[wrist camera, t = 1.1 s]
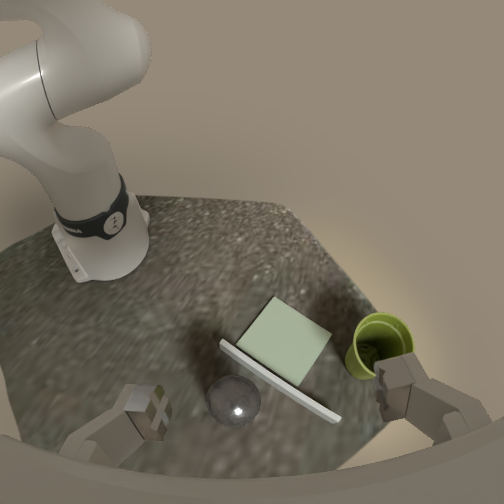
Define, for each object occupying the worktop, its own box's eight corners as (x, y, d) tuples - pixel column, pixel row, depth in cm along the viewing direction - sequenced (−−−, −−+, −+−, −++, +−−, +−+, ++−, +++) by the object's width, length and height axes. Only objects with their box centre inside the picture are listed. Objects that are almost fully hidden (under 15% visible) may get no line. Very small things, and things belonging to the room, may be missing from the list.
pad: (235, 345, 45) (235, 344, 45) (273, 297, 50) (274, 296, 49) (297, 387, 42) (297, 386, 41) (331, 334, 47) (332, 334, 46)
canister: (203, 412, 39) (195, 404, 30) (228, 381, 42) (228, 364, 33) (237, 436, 37) (239, 436, 28) (262, 405, 40) (271, 395, 31)
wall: (219, 348, 44) (219, 342, 42) (223, 344, 45) (222, 338, 42) (332, 423, 39) (338, 422, 36) (334, 419, 39) (341, 417, 37)
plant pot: (331, 388, 42) (352, 376, 35) (335, 330, 47) (354, 308, 40) (387, 390, 41) (415, 378, 34) (387, 335, 47) (412, 315, 40)
